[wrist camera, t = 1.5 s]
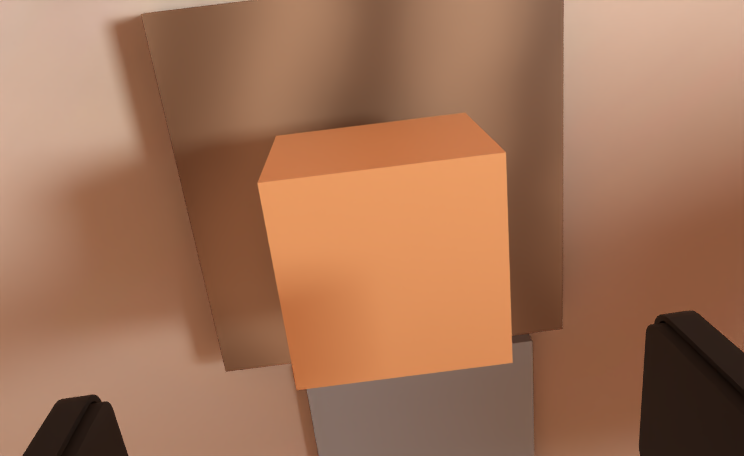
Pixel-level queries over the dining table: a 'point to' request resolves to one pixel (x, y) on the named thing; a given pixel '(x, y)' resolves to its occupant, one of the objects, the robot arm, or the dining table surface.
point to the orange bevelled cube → (390, 249)
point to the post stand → (354, 108)
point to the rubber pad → (432, 412)
